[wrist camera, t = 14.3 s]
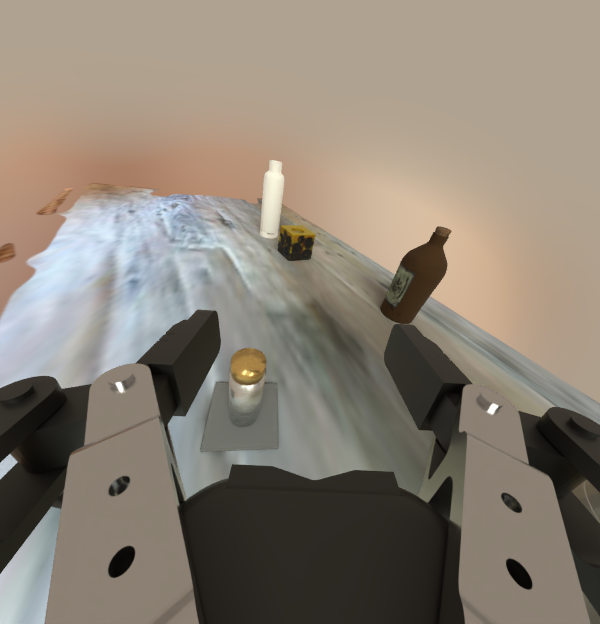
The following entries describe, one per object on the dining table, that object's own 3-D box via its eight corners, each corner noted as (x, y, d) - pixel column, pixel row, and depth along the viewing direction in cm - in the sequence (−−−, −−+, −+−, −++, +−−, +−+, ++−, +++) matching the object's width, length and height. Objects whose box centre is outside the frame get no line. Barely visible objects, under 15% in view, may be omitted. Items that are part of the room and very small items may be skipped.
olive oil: (403, 305, 70) (449, 225, 55) (421, 327, 61) (480, 240, 46) (373, 301, 68) (412, 218, 53) (387, 324, 59) (437, 232, 45)
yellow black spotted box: (298, 249, 92) (303, 225, 86) (311, 259, 85) (317, 234, 79) (276, 250, 86) (279, 224, 80) (288, 261, 80) (292, 234, 74)
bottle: (266, 230, 103) (273, 159, 86) (281, 236, 101) (290, 164, 84) (256, 233, 97) (260, 158, 80) (271, 239, 94) (279, 163, 78)
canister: (260, 398, 35) (268, 348, 28) (258, 427, 31) (267, 377, 24) (231, 398, 34) (232, 345, 27) (226, 427, 30) (226, 376, 23)
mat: (276, 385, 38) (276, 383, 38) (277, 448, 30) (278, 446, 30) (216, 384, 36) (216, 382, 36) (200, 451, 28) (200, 449, 28)
